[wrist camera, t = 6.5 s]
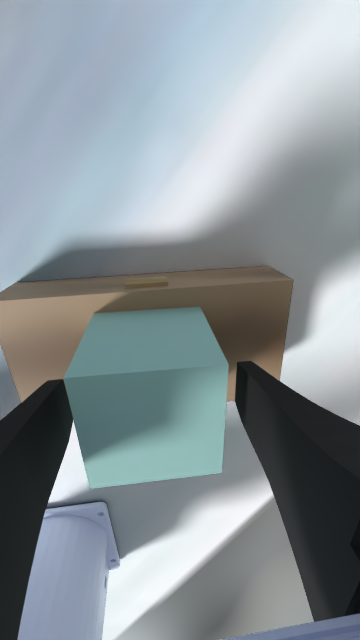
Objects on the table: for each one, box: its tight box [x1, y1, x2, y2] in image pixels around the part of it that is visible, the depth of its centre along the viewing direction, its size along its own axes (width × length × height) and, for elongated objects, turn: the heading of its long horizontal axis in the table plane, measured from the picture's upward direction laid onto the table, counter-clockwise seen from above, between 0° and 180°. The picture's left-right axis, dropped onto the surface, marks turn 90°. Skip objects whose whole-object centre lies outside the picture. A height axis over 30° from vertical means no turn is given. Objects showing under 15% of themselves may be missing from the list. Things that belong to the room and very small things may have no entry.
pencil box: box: [0, 266, 293, 403], centre depth 15 cm, size 7×14×3 cm, turn 92°
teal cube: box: [64, 307, 229, 489], centre depth 12 cm, size 5×5×5 cm
